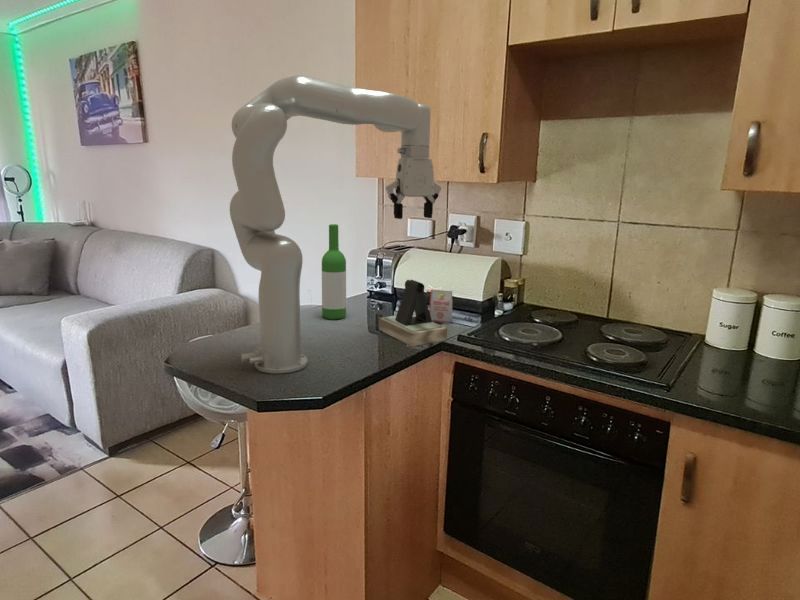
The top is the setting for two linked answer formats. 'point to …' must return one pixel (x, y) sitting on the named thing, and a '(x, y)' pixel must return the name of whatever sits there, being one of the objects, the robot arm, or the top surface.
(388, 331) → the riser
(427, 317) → the dark brown arched piece
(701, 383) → the top surface
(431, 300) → the small printed carton
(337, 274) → the wine bottle
